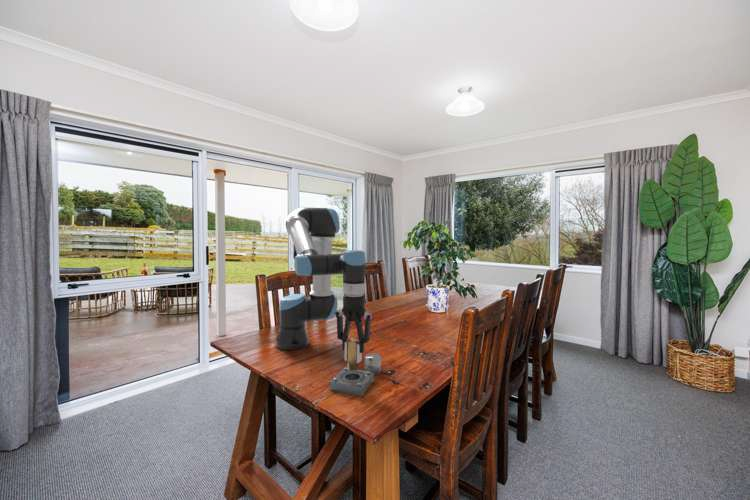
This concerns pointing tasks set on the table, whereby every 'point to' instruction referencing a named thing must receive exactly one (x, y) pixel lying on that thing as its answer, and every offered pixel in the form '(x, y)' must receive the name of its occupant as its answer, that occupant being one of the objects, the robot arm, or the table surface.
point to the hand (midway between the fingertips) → (353, 360)
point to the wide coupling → (373, 363)
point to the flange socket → (352, 381)
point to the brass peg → (352, 354)
